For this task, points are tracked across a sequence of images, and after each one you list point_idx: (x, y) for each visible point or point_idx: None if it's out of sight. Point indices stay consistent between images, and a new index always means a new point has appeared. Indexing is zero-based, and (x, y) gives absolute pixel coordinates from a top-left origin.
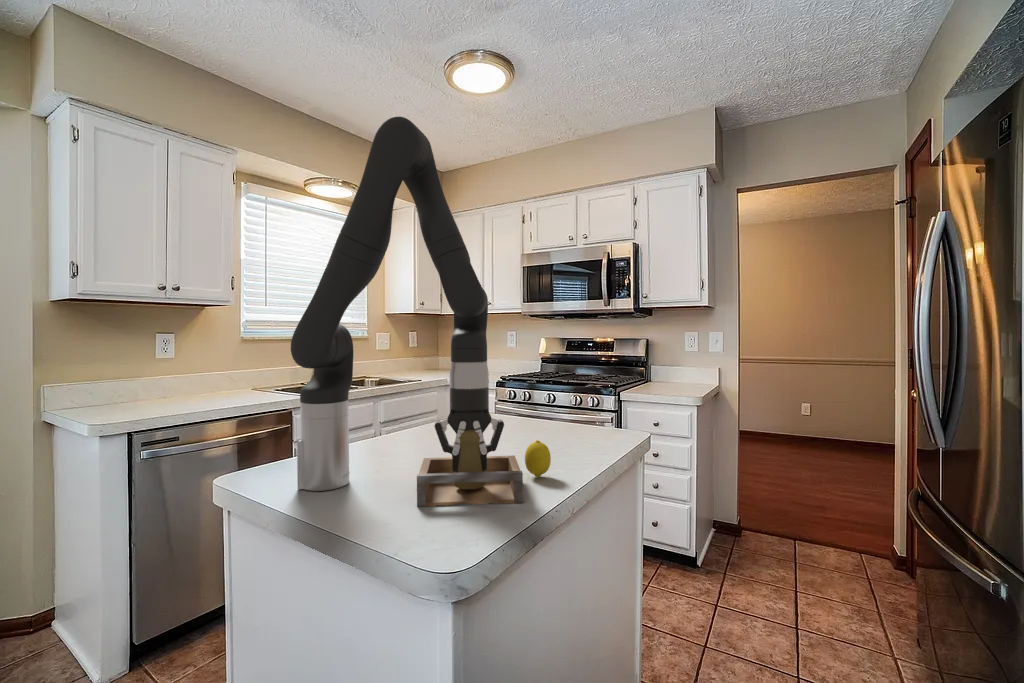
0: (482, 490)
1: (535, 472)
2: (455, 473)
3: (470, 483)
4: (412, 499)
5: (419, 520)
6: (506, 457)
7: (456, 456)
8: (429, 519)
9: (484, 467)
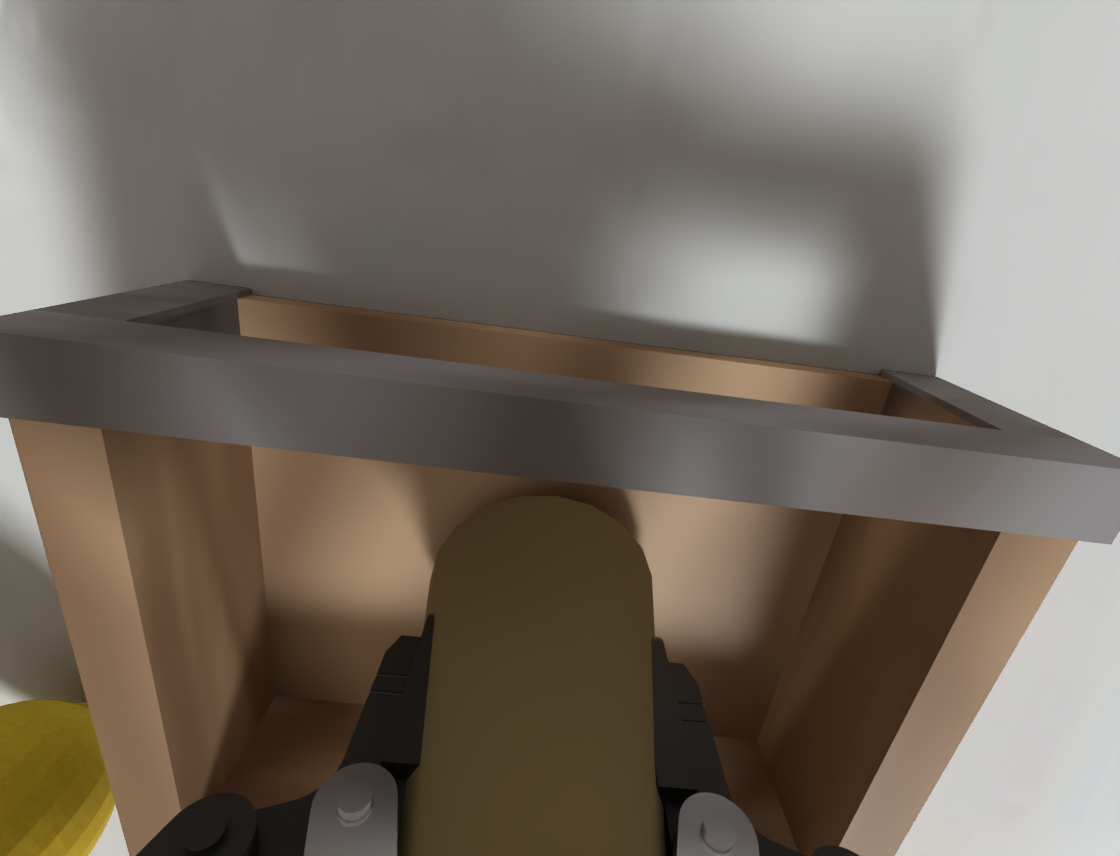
0: None
1: (63, 709)
2: (736, 475)
3: (551, 523)
4: None
5: (1003, 93)
6: None
7: (691, 783)
8: (927, 96)
9: (405, 657)
